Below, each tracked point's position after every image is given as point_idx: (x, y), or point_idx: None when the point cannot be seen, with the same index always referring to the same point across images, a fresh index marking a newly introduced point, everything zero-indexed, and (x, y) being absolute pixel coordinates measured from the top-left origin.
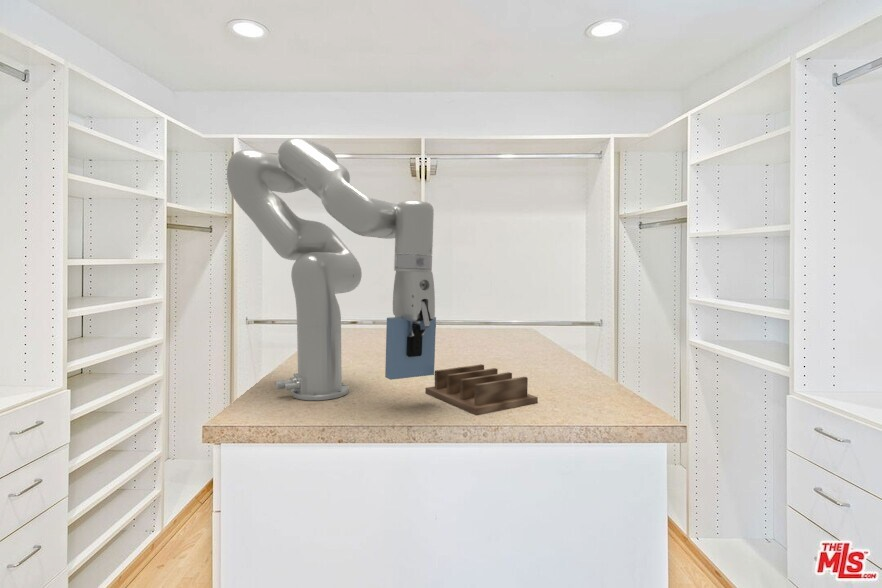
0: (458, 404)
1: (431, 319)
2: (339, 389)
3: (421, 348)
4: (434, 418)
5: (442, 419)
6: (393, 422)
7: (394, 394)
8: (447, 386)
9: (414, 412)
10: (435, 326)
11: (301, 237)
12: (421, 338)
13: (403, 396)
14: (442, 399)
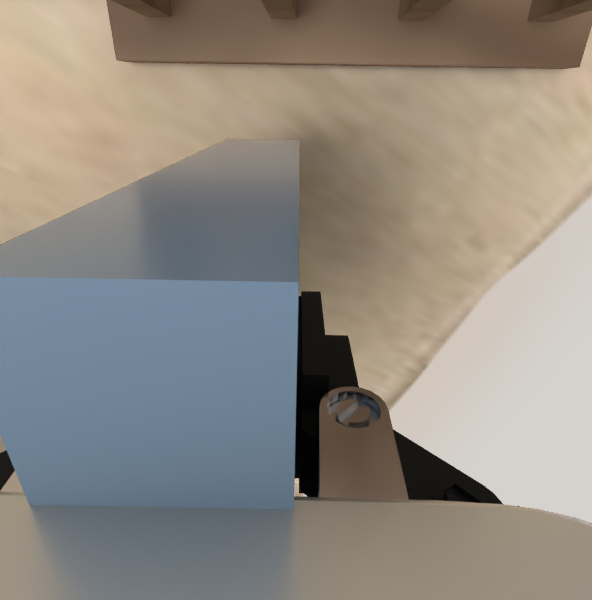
0: (430, 65)
1: (561, 537)
2: None
3: (321, 316)
4: (457, 230)
5: (486, 213)
6: (400, 350)
7: (86, 196)
8: (273, 10)
9: (353, 252)
10: (296, 215)
11: None
12: (326, 369)
13: (131, 178)
14: (288, 64)
